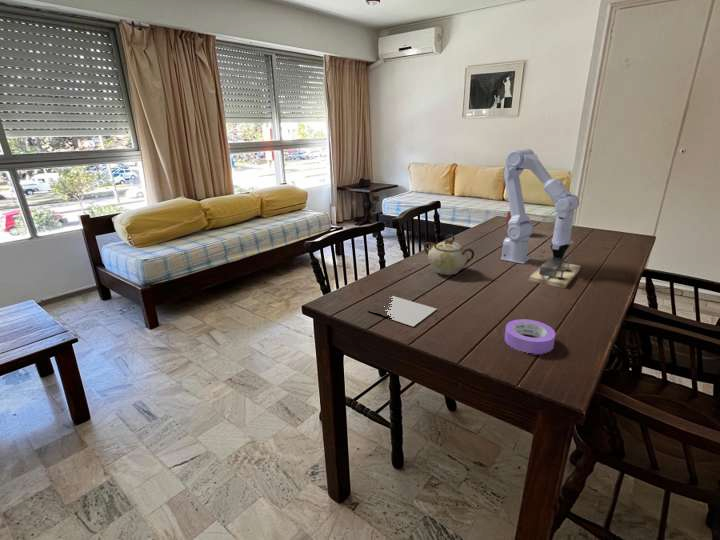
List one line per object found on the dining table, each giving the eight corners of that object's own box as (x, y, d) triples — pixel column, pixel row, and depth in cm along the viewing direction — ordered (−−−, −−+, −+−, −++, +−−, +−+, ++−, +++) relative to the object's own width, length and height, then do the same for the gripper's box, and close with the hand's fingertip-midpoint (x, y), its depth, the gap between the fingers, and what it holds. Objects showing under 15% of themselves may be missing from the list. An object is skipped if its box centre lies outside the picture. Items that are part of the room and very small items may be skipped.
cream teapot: (477, 269, 148) (480, 232, 143) (466, 282, 136) (469, 242, 131) (430, 262, 158) (431, 227, 153) (415, 273, 146) (417, 236, 141)
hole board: (528, 280, 136) (530, 267, 134) (546, 263, 153) (548, 251, 151) (565, 288, 129) (567, 274, 127) (580, 269, 145) (582, 256, 144)
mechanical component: (522, 231, 199) (526, 236, 190) (502, 231, 201) (505, 236, 192) (525, 208, 194) (529, 212, 185) (504, 208, 196) (507, 212, 187)
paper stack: (407, 288, 133) (407, 286, 133) (475, 306, 118) (475, 304, 118) (366, 312, 116) (366, 310, 116) (439, 337, 101) (439, 335, 101)
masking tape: (503, 350, 95) (505, 337, 94) (504, 328, 105) (506, 316, 104) (555, 358, 91) (557, 345, 90) (551, 335, 101) (553, 322, 100)
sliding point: (546, 266, 143) (547, 258, 141) (548, 264, 145) (550, 256, 144) (568, 270, 138) (570, 262, 137) (570, 268, 140) (572, 260, 139)
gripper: (570, 234, 132) (563, 270, 136) (579, 225, 142) (573, 260, 147) (548, 231, 136) (543, 266, 141) (559, 223, 146) (553, 256, 151)
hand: (557, 263), depth 144 cm, fingers closed
